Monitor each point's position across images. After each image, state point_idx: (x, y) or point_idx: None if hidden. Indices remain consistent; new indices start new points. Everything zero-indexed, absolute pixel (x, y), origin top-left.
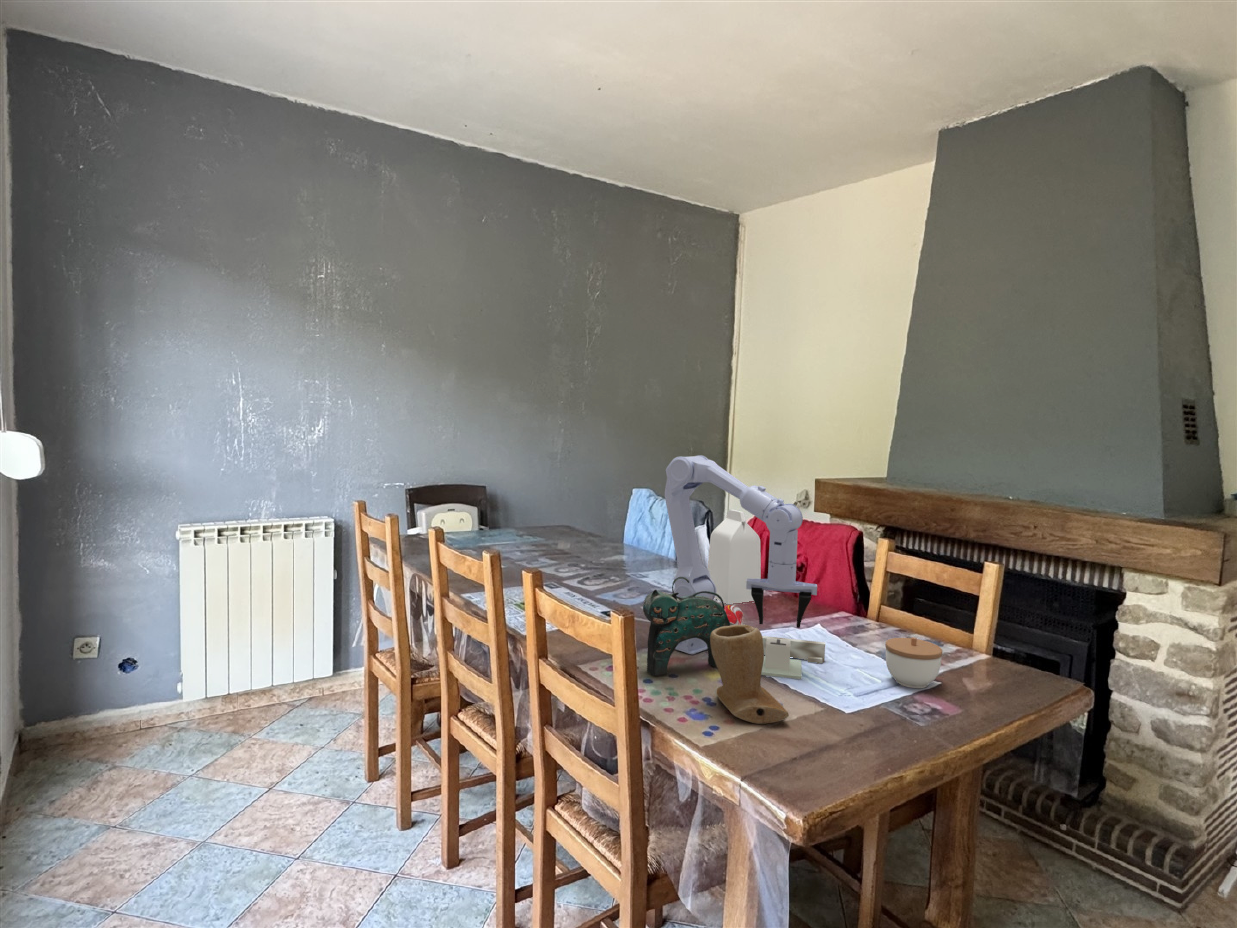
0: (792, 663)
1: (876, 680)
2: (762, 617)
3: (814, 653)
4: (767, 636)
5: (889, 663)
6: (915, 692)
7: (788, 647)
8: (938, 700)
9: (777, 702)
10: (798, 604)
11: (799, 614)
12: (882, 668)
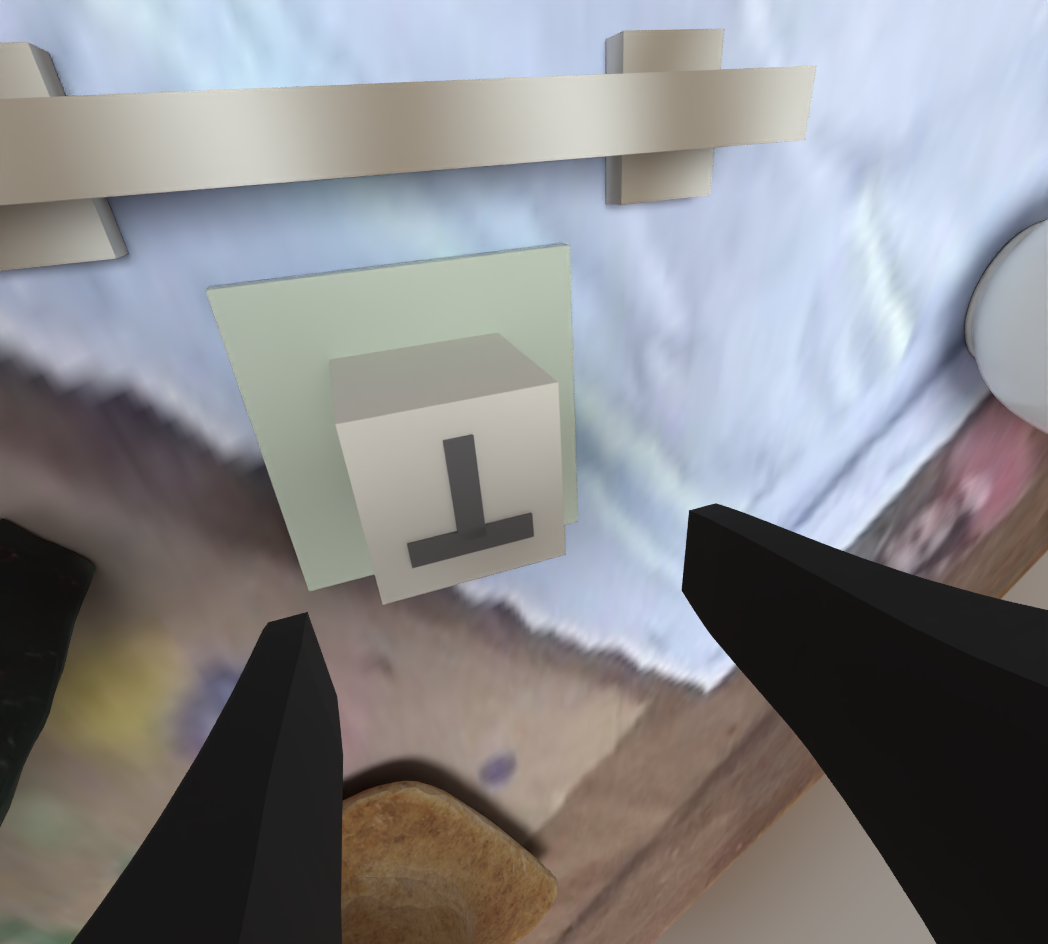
0: (518, 341)
1: (893, 341)
2: (340, 792)
3: (677, 150)
4: (253, 94)
5: (1028, 386)
6: (978, 405)
7: (551, 557)
8: (1011, 442)
9: (522, 877)
10: (911, 665)
11: (803, 722)
12: (993, 120)
